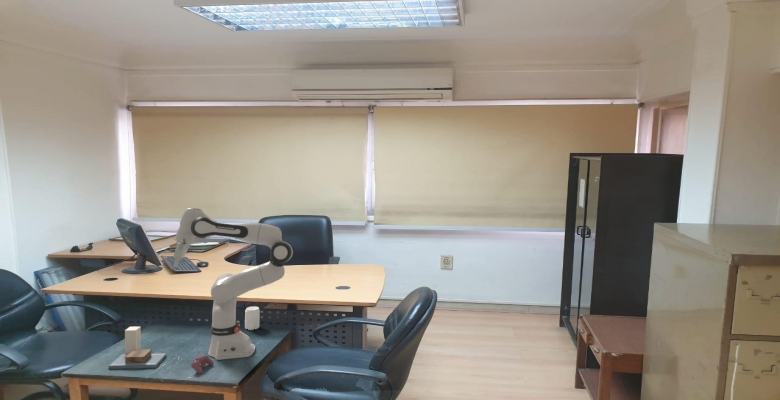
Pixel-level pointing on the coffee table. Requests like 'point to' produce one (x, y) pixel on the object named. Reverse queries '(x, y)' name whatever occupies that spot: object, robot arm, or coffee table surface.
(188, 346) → the coffee table surface
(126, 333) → the cream pillar
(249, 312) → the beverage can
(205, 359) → the video game controller
